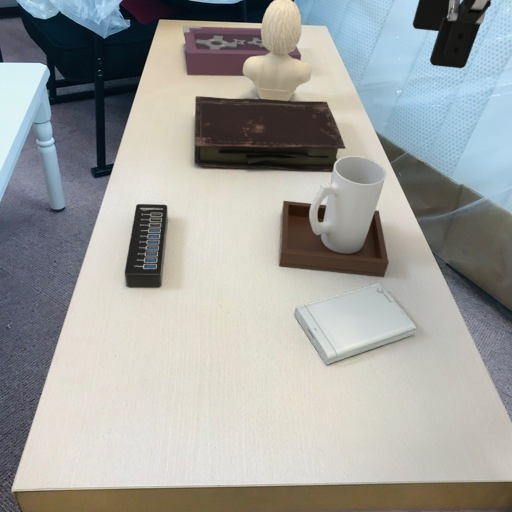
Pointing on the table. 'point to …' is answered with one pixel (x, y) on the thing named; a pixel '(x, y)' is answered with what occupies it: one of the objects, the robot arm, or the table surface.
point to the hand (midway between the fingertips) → (436, 46)
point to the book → (222, 49)
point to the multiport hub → (147, 246)
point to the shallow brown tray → (318, 255)
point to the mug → (348, 203)
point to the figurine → (278, 54)
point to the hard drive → (354, 322)
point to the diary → (265, 134)
